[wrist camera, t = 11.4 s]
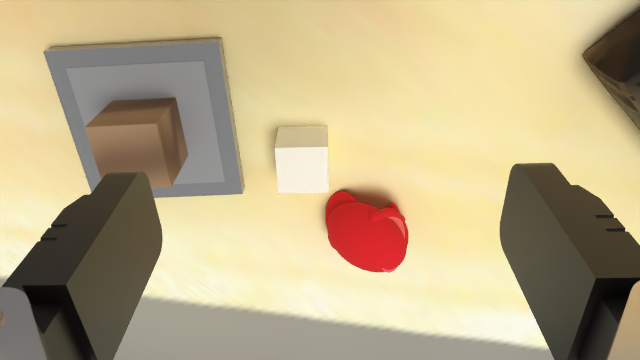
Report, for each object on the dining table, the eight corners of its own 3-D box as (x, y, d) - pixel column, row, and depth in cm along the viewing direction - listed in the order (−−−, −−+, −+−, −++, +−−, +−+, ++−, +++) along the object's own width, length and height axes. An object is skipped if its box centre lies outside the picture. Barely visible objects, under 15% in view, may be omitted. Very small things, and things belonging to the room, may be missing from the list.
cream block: (278, 126, 40) (274, 147, 37) (327, 125, 40) (327, 146, 37) (281, 169, 42) (278, 193, 39) (328, 168, 42) (328, 192, 39)
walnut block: (111, 100, 38) (84, 127, 33) (175, 97, 37) (156, 123, 33) (128, 158, 40) (104, 189, 36) (188, 155, 40) (171, 186, 36)
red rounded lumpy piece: (435, 229, 41) (397, 216, 37) (401, 289, 42) (360, 283, 38) (371, 188, 47) (331, 172, 42) (342, 242, 47) (300, 232, 43)
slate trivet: (51, 47, 37) (42, 51, 36) (221, 37, 36) (218, 42, 35) (99, 193, 43) (93, 200, 42) (244, 186, 43) (242, 194, 42)
